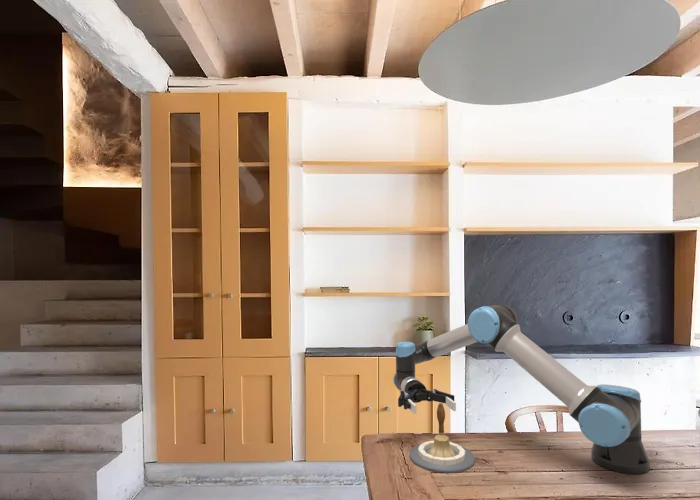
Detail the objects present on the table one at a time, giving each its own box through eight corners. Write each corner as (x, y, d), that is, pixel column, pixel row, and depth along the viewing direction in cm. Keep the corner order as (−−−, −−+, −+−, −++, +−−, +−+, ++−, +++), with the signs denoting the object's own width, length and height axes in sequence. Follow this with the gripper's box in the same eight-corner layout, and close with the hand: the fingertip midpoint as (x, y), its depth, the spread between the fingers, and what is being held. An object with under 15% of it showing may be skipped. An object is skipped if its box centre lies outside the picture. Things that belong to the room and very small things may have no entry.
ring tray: (476, 449, 143) (476, 441, 143) (472, 477, 124) (472, 468, 124) (416, 441, 150) (416, 433, 150) (403, 467, 131) (403, 458, 131)
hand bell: (453, 462, 132) (452, 409, 132) (426, 458, 134) (425, 406, 135) (456, 450, 139) (455, 400, 140) (430, 447, 142) (430, 398, 143)
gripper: (445, 397, 164) (471, 417, 143) (381, 402, 159) (398, 422, 138) (445, 377, 164) (470, 394, 143) (381, 381, 159) (398, 399, 139)
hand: (435, 408), depth 141 cm, fingers open, 13 cm apart
